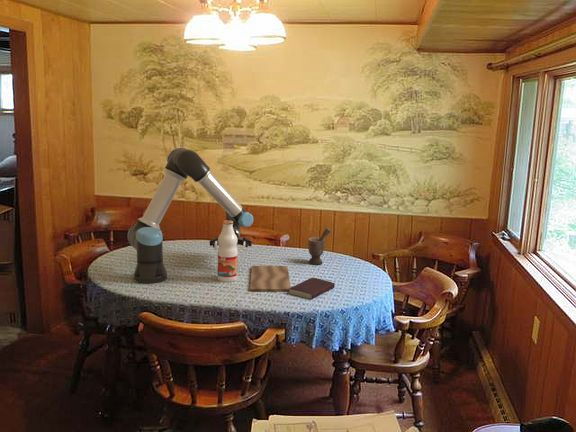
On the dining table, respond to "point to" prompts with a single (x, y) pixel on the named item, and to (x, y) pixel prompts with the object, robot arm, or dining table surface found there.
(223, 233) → the fruit juice
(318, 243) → the mortar and pestle
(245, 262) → the dining table surface
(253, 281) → the walnut board
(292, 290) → the book
